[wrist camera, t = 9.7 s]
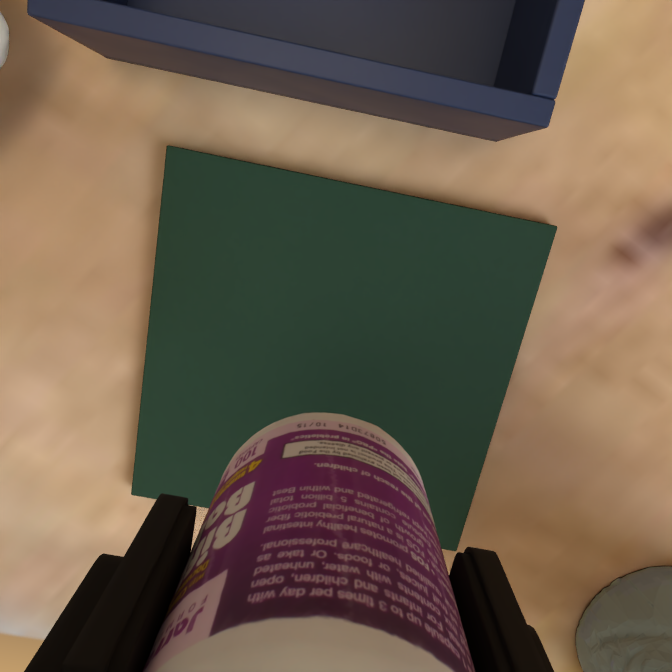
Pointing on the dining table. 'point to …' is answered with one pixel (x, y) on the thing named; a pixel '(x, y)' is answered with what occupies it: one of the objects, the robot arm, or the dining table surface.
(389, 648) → the pill bottle
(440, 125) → the basket
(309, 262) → the mat
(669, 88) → the dining table surface
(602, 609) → the gray cup
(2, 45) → the square plate
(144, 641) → the robot arm
